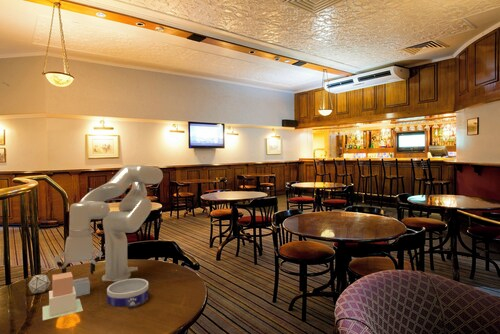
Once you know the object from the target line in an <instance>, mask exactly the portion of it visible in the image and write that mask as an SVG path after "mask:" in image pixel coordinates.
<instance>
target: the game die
mask: <svg viewBox="0 0 500 334" xmlns="http://www.w3.org/2000/svg"><path fill="white" fill-rule="evenodd" d="M32 275H33V277H32V278H31V279H30V281H29V282H28V283H26V284H25V286H28V289H29V291H31V294H30V296H32V295H34V294H41V293H44V294H46V291H47V289H48V288H49V286H50V285H51V284H52V281H50V279H49V276H48V275H49V272H46V274H37V275H36V274H34V273H33V274H32Z"/></svg>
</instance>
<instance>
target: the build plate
mask: <svg viewBox="0 0 500 334" xmlns="http://www.w3.org/2000/svg"><path fill="white" fill-rule="evenodd" d="M83 311H84V309H83V307H82V302H81V300H80V298H76V310H74V311H70V312H65V313H61V314H57V315H53V316H50V314H49V304H48V305H44V306H42V321H46V320H51V319H54V318H59V317H63V316H67V315H71V314H75V313H79V312H83Z"/></svg>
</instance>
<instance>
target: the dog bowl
mask: <svg viewBox="0 0 500 334" xmlns="http://www.w3.org/2000/svg"><path fill="white" fill-rule="evenodd" d="M148 299H149V281H148V280H146V279H144V278H128V279H126V280H121V281H118V282H112V284H110V285H108V287H107V288H106V302H107V304H108V305H110V306H111V307H127V308H128V309H132V307H133V308H136V307H139V306H141V305H143V304H145V303H146V302H147V301H148ZM146 300H147V301H146ZM138 305H139V306H138Z"/></svg>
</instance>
